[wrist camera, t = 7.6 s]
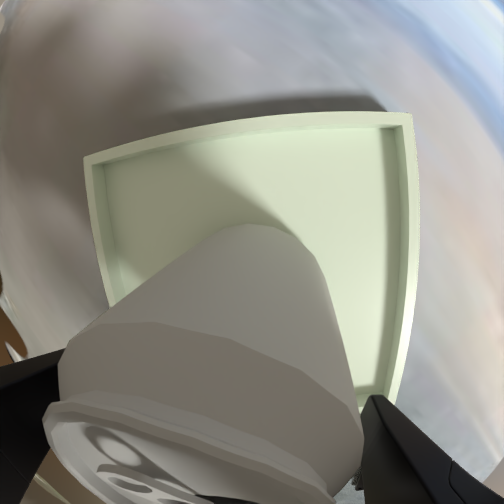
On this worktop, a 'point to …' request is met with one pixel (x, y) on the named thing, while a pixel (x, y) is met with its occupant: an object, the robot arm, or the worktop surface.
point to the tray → (278, 214)
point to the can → (213, 383)
